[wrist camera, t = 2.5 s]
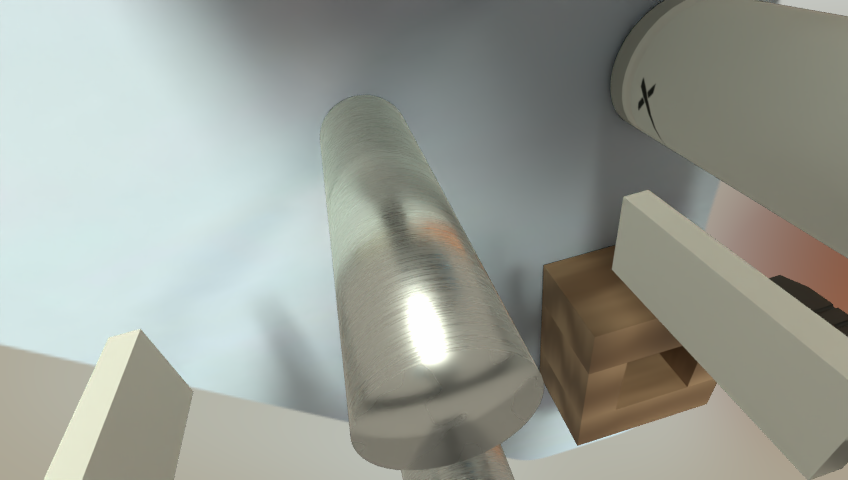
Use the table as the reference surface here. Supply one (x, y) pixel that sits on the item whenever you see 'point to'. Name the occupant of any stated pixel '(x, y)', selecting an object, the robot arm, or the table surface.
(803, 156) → the travel mug
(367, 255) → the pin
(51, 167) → the table surface
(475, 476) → the pin long
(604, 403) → the hole block
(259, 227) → the table surface
